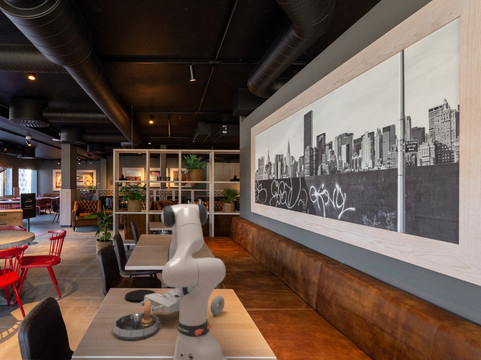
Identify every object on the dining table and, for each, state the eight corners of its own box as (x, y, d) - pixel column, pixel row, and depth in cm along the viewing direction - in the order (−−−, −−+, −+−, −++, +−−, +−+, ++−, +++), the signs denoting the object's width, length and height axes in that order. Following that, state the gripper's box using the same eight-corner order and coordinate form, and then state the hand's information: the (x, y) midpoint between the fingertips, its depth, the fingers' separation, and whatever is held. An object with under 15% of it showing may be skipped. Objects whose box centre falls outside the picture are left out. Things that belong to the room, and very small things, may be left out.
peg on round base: (154, 321, 153) (155, 300, 153) (147, 325, 148) (148, 304, 149) (145, 319, 155) (146, 299, 155) (139, 323, 150) (140, 302, 150)
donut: (214, 318, 163) (214, 299, 163) (208, 317, 165) (209, 297, 165) (225, 312, 171) (226, 294, 171) (220, 311, 173) (221, 292, 173)
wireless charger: (121, 303, 179) (121, 300, 179) (128, 292, 196) (128, 289, 197) (153, 303, 181) (153, 299, 181) (157, 292, 199) (158, 289, 199)
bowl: (167, 329, 149) (167, 313, 149) (128, 345, 133) (129, 327, 133) (142, 317, 161) (143, 302, 161) (104, 330, 146) (105, 313, 146)
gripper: (158, 288, 169) (135, 294, 158) (183, 298, 156) (159, 306, 145) (157, 300, 169) (134, 307, 158) (182, 311, 156) (159, 319, 145)
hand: (146, 306), depth 151 cm, fingers open, 8 cm apart
